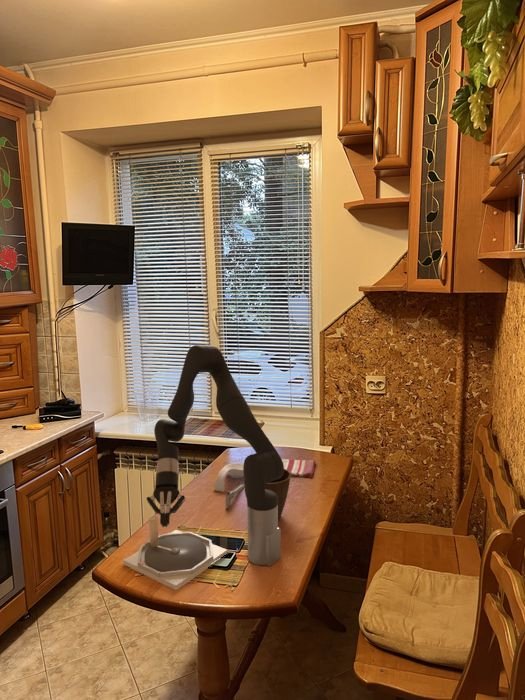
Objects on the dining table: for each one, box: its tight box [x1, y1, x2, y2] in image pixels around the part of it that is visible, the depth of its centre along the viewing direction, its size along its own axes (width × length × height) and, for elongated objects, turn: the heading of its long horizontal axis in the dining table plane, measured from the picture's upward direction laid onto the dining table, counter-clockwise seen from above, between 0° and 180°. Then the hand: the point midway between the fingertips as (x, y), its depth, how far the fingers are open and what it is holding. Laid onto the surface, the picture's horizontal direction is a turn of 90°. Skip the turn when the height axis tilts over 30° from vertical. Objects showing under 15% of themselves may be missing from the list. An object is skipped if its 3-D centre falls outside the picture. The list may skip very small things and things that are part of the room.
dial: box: [145, 515, 207, 572], centre depth 156 cm, size 19×19×10 cm
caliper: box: [225, 484, 245, 509], centre depth 199 cm, size 20×1×6 cm, turn 165°
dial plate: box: [122, 529, 228, 591], centre depth 157 cm, size 22×22×3 cm
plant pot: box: [265, 469, 291, 521], centre depth 181 cm, size 15×15×16 cm
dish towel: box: [281, 458, 316, 478], centre depth 226 cm, size 17×23×3 cm
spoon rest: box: [213, 462, 244, 493], centre depth 214 cm, size 24×12×7 cm, turn 157°
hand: (164, 526), depth 164 cm, fingers closed
